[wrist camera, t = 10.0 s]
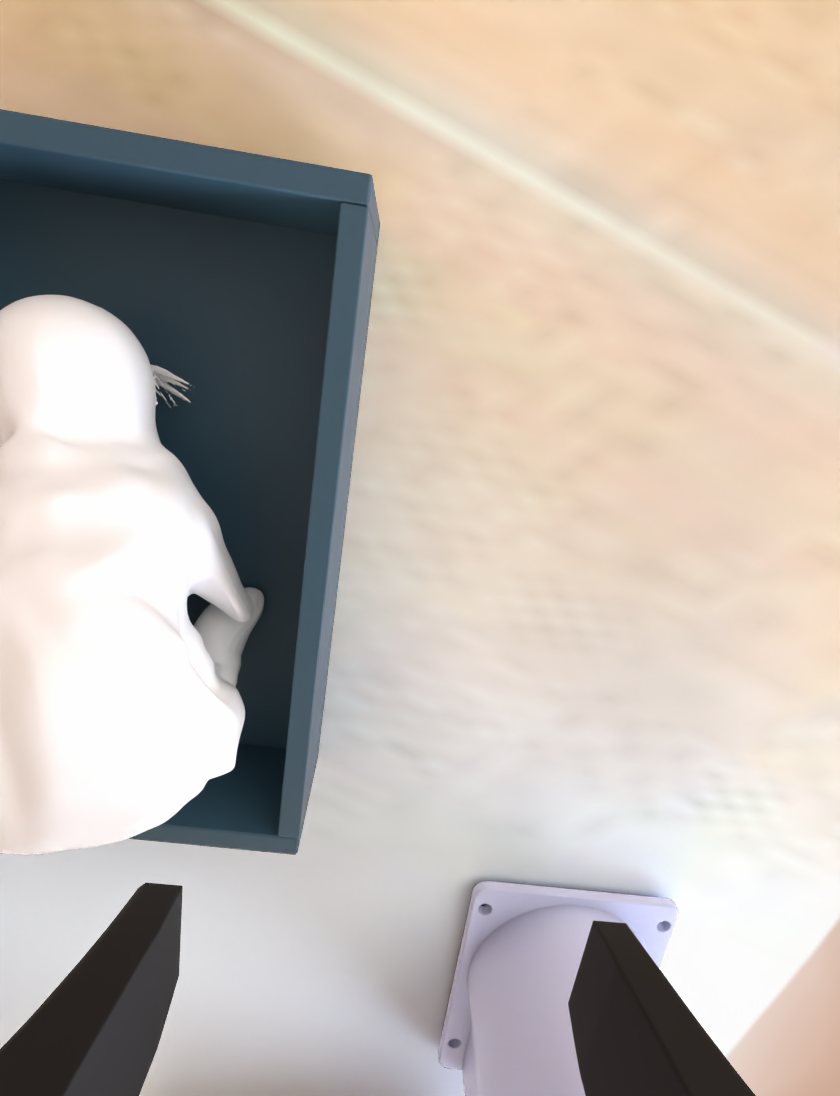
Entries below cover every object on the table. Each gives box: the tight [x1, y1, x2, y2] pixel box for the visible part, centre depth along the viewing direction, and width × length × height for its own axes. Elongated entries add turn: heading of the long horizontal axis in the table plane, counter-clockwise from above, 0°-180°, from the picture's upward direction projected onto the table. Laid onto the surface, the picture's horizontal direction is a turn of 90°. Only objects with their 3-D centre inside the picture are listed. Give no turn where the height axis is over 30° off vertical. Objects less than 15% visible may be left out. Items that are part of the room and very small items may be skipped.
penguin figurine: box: [0, 295, 264, 855], centre depth 15 cm, size 6×8×12 cm
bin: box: [0, 109, 380, 855], centre depth 17 cm, size 17×11×4 cm, turn 172°
